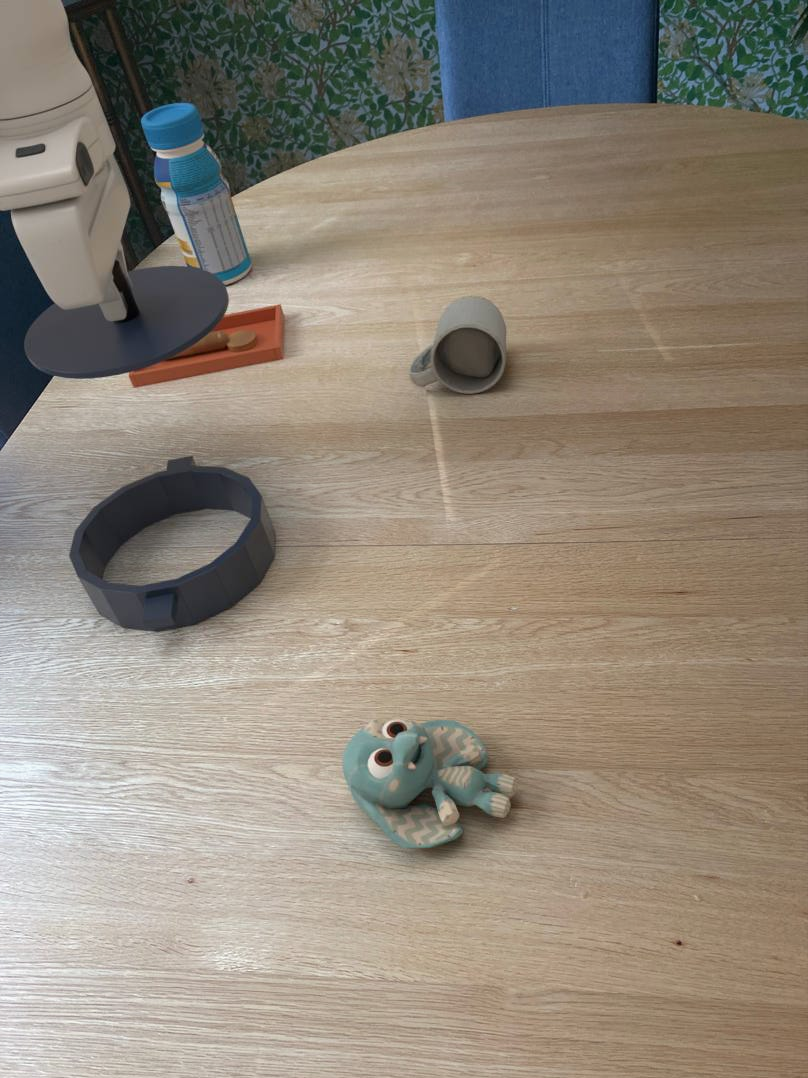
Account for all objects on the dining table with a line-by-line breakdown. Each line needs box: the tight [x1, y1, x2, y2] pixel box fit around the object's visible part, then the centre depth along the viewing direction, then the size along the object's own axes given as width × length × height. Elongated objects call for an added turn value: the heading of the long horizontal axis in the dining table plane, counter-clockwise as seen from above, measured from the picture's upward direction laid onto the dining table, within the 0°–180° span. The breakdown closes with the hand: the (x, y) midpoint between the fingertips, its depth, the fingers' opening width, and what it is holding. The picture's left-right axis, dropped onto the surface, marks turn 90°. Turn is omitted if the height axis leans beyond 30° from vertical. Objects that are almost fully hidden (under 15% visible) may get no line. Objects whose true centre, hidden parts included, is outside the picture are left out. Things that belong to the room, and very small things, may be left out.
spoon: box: [166, 330, 258, 360], centre depth 117 cm, size 12×4×2 cm, turn 97°
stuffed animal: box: [341, 716, 518, 850], centre depth 68 cm, size 11×7×12 cm
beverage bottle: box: [140, 102, 253, 286], centre depth 126 cm, size 8×8×20 cm
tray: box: [128, 303, 285, 388], centre depth 117 cm, size 17×10×2 cm, turn 97°
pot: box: [68, 455, 277, 632], centre depth 90 cm, size 17×22×5 cm
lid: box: [23, 260, 230, 380], centre depth 87 cm, size 18×18×6 cm
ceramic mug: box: [408, 295, 507, 395], centre depth 105 cm, size 11×8×8 cm
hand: (121, 306), depth 87 cm, fingers closed on lid, 2 cm apart
